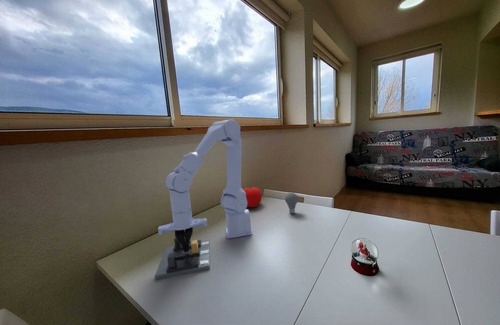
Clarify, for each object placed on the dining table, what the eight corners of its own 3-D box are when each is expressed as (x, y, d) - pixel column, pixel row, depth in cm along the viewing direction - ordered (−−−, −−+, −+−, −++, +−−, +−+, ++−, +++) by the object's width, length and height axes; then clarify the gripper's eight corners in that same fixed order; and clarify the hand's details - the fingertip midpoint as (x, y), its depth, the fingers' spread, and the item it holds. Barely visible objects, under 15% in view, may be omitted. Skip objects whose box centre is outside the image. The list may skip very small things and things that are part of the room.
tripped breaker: (198, 248, 66) (197, 239, 66) (197, 252, 64) (196, 243, 63) (192, 249, 66) (191, 240, 65) (192, 253, 63) (190, 244, 63)
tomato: (239, 210, 103) (237, 190, 101) (244, 202, 115) (242, 184, 113) (261, 210, 101) (259, 190, 100) (263, 201, 113) (262, 183, 111)
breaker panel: (209, 242, 73) (208, 229, 72) (209, 269, 59) (207, 252, 58) (166, 250, 70) (164, 236, 70) (155, 279, 56) (152, 262, 55)
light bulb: (298, 215, 91) (298, 194, 89) (285, 215, 92) (284, 194, 91) (298, 210, 97) (297, 190, 95) (285, 210, 98) (284, 190, 96)
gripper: (204, 202, 68) (208, 239, 70) (158, 209, 64) (164, 248, 66) (205, 209, 61) (210, 250, 63) (154, 217, 57) (161, 260, 59)
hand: (186, 250), depth 64 cm, fingers closed
